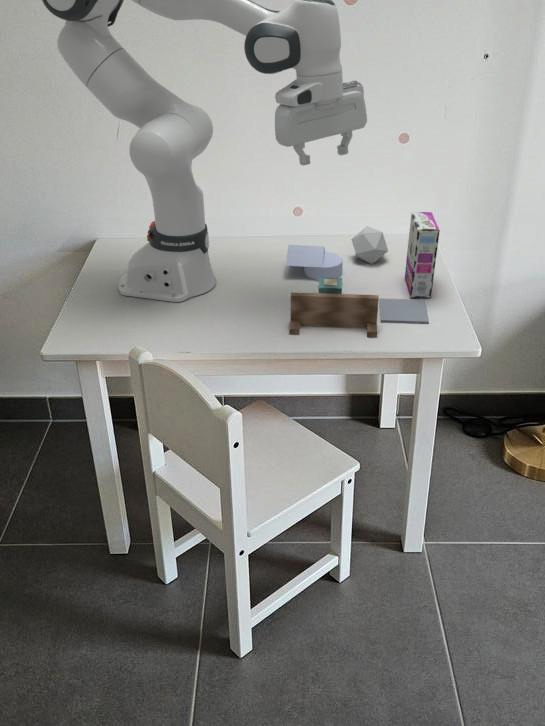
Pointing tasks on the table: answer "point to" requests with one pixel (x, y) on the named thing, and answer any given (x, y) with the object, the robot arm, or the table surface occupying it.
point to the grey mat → (403, 311)
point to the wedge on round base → (315, 261)
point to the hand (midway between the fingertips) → (324, 159)
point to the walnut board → (334, 311)
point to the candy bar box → (421, 254)
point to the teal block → (330, 285)
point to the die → (369, 244)
